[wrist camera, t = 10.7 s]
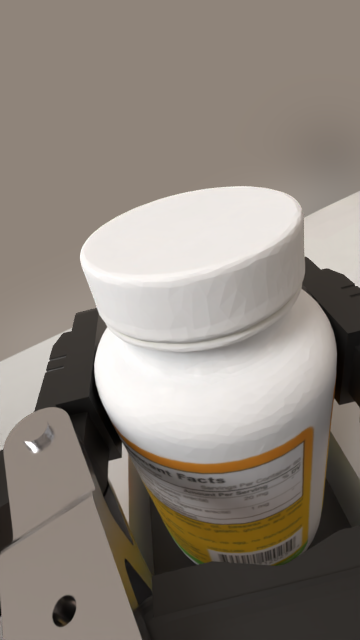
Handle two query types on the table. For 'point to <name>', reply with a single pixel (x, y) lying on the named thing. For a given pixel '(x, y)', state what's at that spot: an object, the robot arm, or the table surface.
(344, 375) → the robot arm
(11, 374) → the table surface
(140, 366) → the supplement bottle
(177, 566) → the square bottle holder
